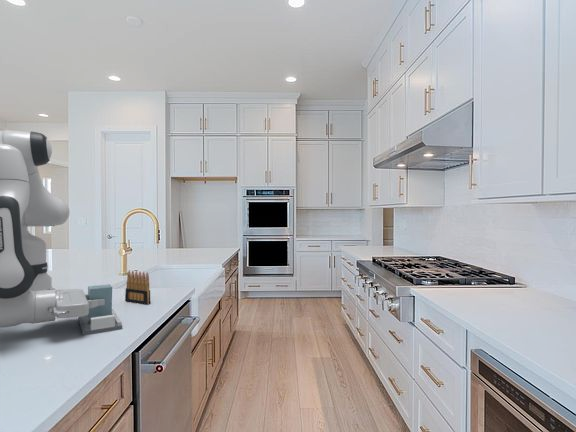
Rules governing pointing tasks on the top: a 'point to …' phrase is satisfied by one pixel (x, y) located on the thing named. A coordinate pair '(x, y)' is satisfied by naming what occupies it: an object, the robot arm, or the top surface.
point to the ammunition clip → (137, 288)
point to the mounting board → (87, 326)
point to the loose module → (99, 293)
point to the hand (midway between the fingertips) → (103, 299)
